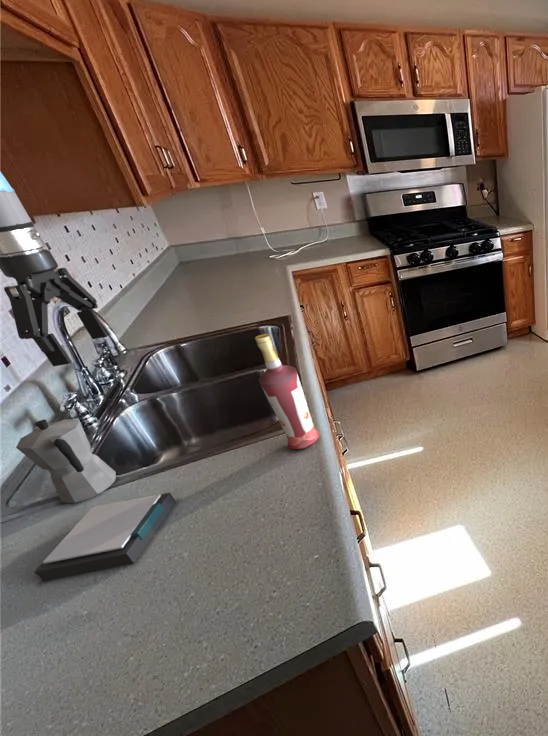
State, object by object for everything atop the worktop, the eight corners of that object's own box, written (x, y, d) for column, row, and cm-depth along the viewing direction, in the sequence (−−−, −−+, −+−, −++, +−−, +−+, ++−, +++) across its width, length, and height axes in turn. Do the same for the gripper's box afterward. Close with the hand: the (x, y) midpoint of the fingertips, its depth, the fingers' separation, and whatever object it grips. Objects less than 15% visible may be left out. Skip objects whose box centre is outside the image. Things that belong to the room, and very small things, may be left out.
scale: (43, 581, 70) (30, 569, 68) (99, 515, 82) (90, 503, 80) (135, 563, 72) (125, 550, 70) (177, 501, 84) (169, 489, 82)
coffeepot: (51, 491, 89) (-4, 425, 81) (105, 464, 96) (60, 400, 88) (76, 518, 82) (18, 449, 73) (133, 486, 89) (86, 419, 80)
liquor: (323, 445, 96) (282, 337, 83) (289, 458, 93) (241, 348, 80) (319, 429, 102) (281, 325, 88) (287, 440, 99) (242, 335, 86)
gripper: (-6, 265, 70) (67, 373, 80) (82, 237, 91) (131, 325, 101) (-62, 272, 68) (19, 382, 78) (41, 242, 89) (95, 331, 99)
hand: (82, 350), depth 89 cm, fingers open, 13 cm apart
